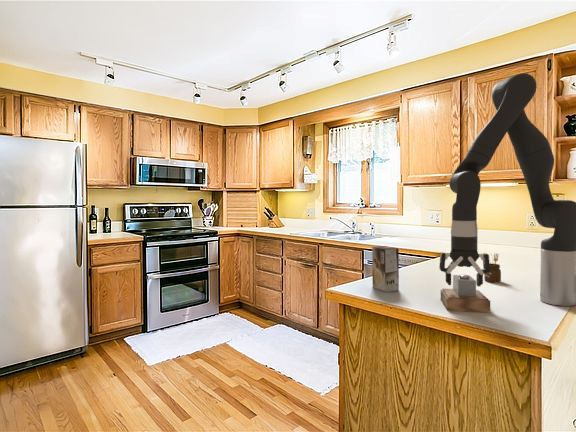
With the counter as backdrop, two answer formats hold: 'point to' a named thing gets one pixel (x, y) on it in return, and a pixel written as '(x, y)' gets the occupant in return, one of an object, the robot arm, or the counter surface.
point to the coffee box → (385, 268)
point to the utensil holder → (493, 272)
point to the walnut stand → (465, 302)
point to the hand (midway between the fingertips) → (463, 285)
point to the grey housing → (464, 285)
